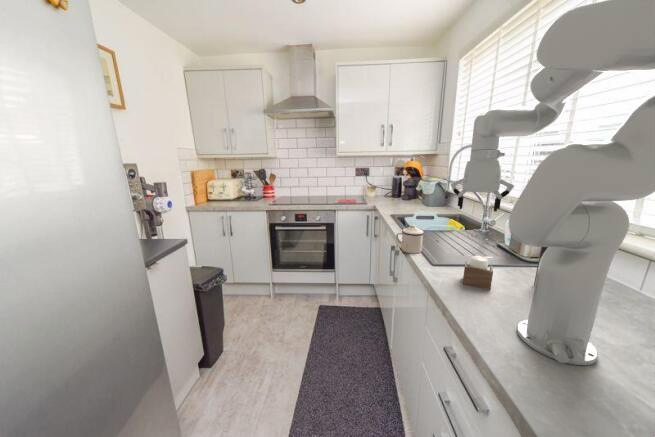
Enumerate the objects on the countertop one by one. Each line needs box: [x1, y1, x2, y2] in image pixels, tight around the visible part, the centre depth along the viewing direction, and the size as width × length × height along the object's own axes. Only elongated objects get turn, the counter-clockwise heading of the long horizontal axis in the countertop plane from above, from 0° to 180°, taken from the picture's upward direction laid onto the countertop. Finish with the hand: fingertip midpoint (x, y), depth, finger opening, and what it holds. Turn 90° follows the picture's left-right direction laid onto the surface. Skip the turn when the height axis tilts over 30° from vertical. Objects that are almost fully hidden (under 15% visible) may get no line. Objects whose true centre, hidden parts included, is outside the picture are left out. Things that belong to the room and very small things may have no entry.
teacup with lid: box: [395, 224, 425, 255], centre depth 107 cm, size 12×9×12 cm
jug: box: [468, 255, 489, 270], centre depth 79 cm, size 8×5×8 cm, turn 150°
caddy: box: [462, 260, 494, 291], centre depth 77 cm, size 5×7×6 cm
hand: (477, 209), depth 79 cm, fingers open, 9 cm apart
